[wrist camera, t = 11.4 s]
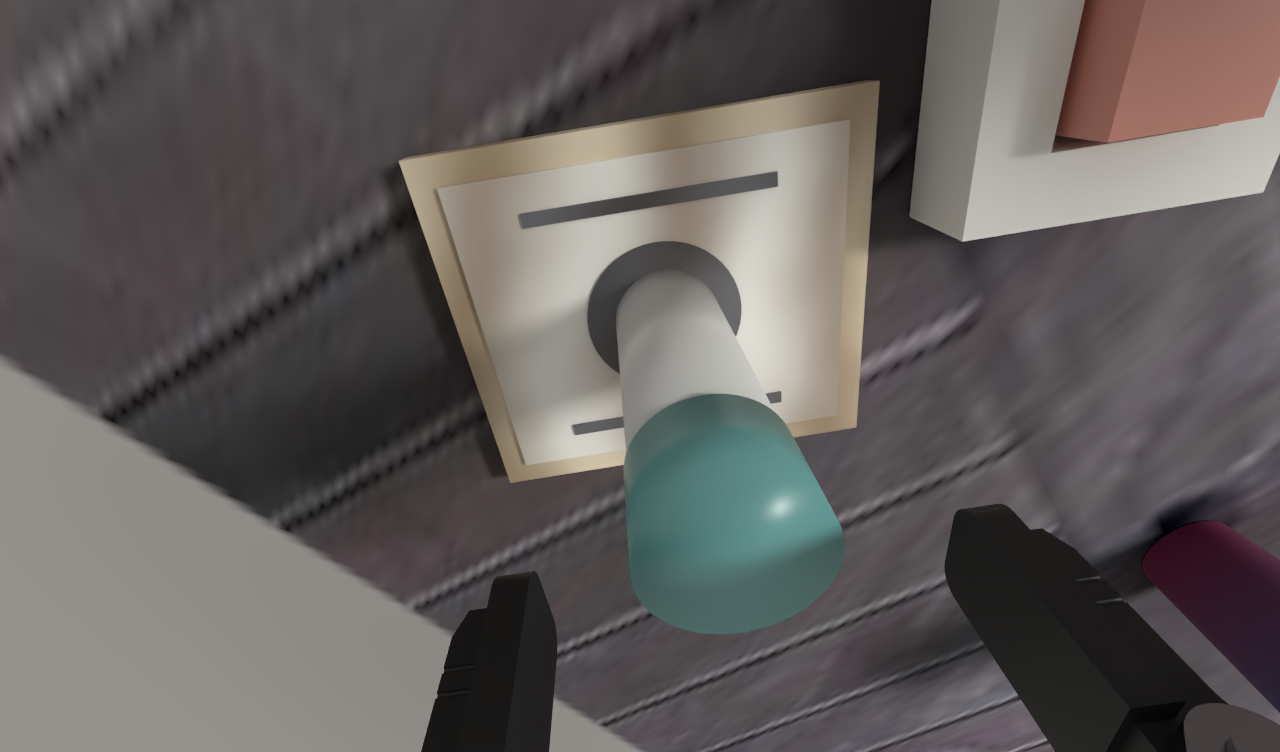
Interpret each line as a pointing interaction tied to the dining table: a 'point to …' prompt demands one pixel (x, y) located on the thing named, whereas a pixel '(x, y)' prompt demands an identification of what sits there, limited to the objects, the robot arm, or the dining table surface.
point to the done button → (1169, 66)
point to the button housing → (1051, 133)
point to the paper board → (655, 259)
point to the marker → (712, 472)
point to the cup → (1225, 595)
